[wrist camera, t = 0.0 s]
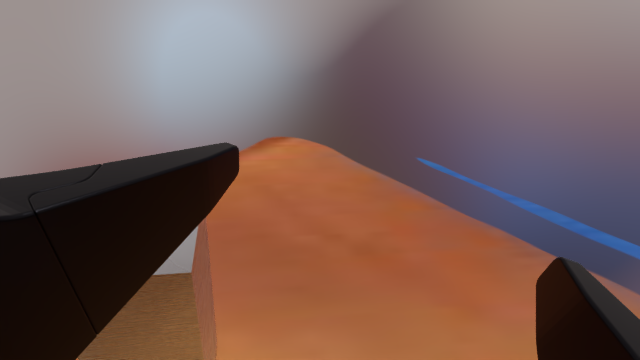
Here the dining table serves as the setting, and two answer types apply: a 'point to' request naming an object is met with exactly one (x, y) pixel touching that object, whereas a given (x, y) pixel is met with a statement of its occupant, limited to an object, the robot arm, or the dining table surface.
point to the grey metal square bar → (166, 312)
